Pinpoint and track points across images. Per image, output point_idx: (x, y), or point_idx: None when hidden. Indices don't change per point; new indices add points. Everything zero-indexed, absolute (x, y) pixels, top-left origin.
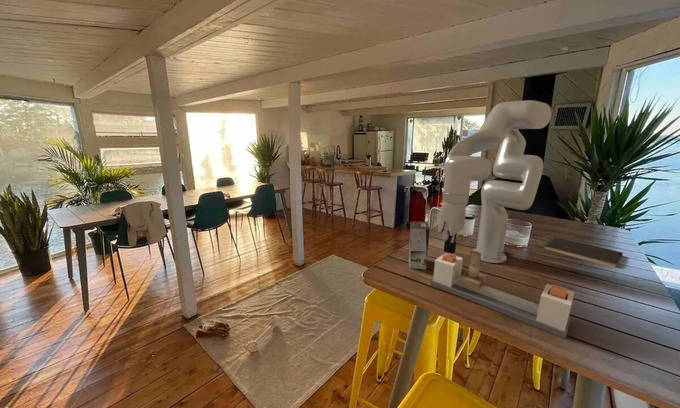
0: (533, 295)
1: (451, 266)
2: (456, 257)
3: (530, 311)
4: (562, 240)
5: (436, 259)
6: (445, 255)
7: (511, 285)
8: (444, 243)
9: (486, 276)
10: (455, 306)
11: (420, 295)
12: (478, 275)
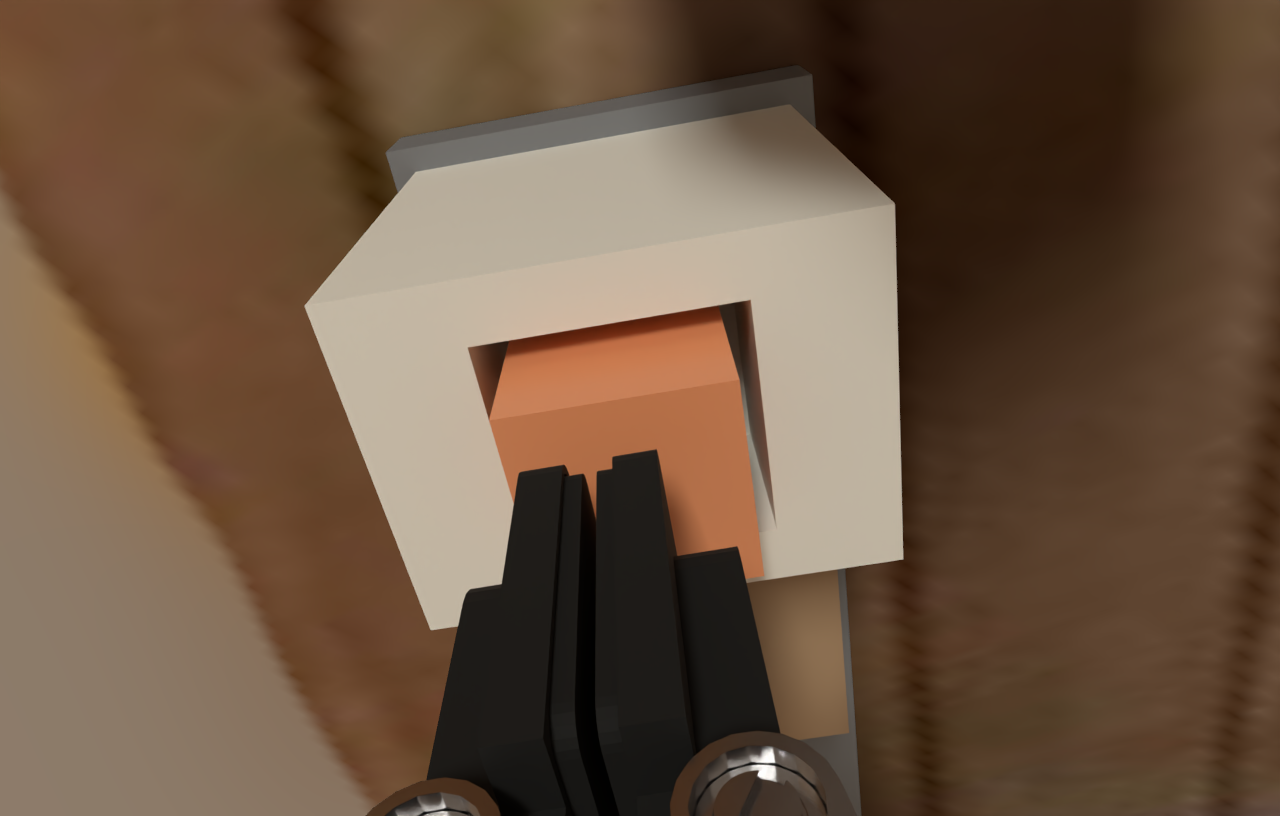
0: (1061, 786)
1: (425, 600)
2: (833, 482)
3: None
4: None
5: (366, 304)
6: (528, 469)
7: (1130, 650)
8: (493, 638)
9: (838, 726)
10: (312, 553)
11: (73, 228)
12: (771, 686)
